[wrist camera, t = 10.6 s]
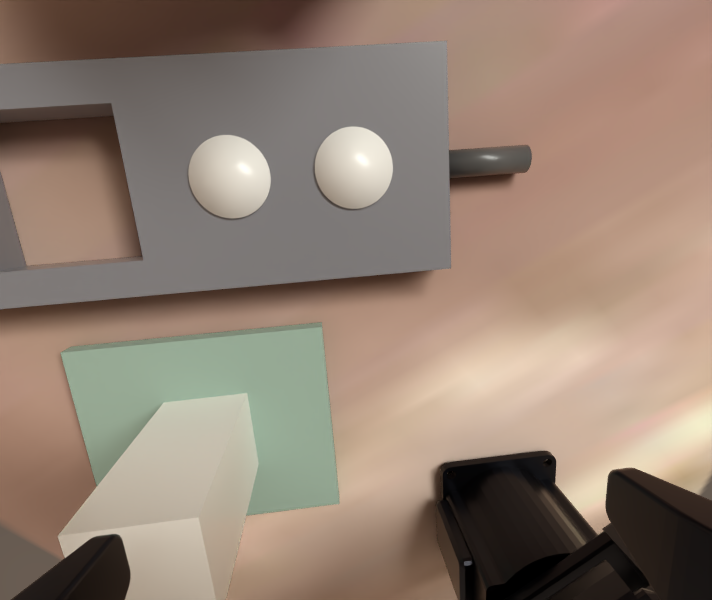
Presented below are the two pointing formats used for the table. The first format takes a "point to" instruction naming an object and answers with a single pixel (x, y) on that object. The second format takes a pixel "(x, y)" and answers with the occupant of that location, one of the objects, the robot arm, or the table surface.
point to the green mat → (211, 379)
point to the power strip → (257, 167)
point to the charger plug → (177, 499)
